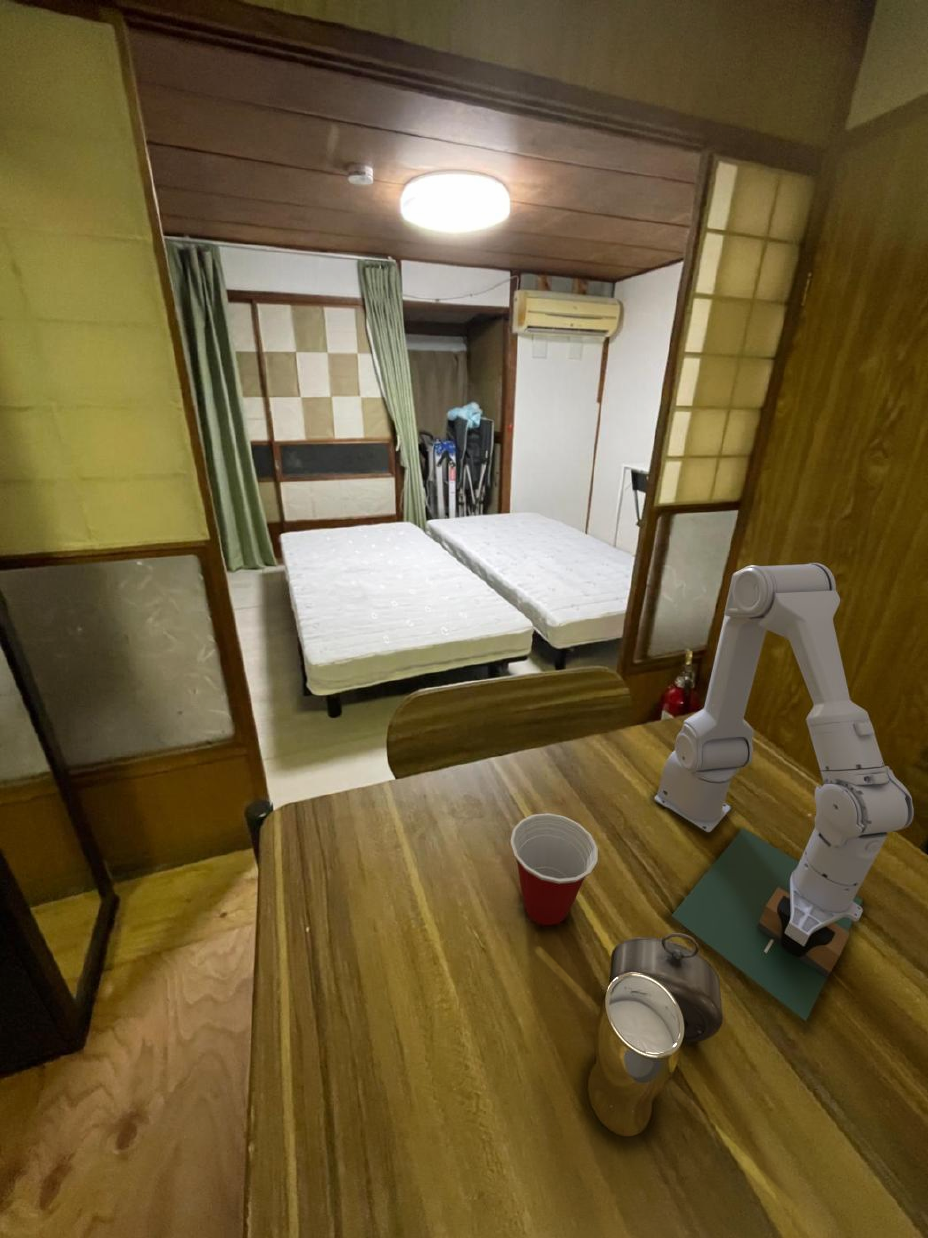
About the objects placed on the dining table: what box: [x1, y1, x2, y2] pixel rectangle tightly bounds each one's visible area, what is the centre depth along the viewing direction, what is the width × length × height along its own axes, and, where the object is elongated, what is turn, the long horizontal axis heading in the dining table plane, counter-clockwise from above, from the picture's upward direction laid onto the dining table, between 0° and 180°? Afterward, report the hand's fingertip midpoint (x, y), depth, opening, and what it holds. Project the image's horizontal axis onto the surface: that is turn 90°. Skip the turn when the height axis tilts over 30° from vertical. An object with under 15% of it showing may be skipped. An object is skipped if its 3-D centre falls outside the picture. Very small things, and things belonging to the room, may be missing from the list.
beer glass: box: [587, 972, 684, 1137], centre depth 48 cm, size 7×7×15 cm
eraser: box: [757, 887, 851, 979], centre depth 63 cm, size 8×4×4 cm, turn 41°
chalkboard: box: [671, 827, 864, 1022], centre depth 69 cm, size 16×22×1 cm
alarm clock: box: [608, 932, 724, 1043], centre depth 53 cm, size 11×5×16 cm, turn 71°
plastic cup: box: [510, 812, 599, 927], centre depth 66 cm, size 11×11×12 cm
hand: (797, 938), depth 64 cm, fingers closed on eraser, 4 cm apart
